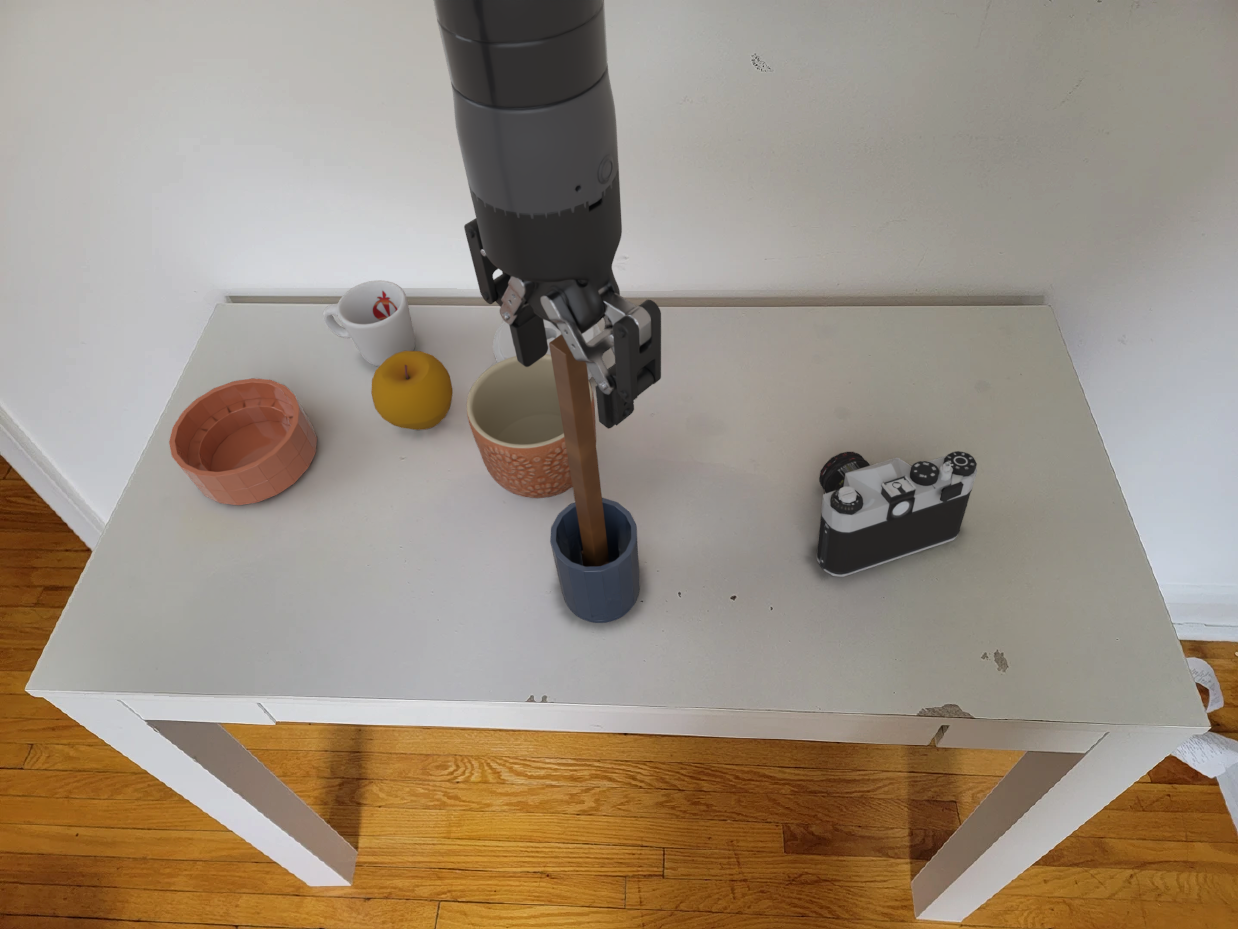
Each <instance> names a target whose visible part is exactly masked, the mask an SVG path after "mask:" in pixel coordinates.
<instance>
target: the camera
mask: <svg viewBox="0 0 1238 929" xmlns="http://www.w3.org/2000/svg"><path fill="white" fill-rule="evenodd" d="M977 465H978V463H977V461H976V459H975V457H974V456H973V455H971V454H970V453H968V452H965V451H960V450H957V451H956V450H955V451H952V452H950V453H948V454H946V455H944V456H941V457H938V458H935V459H930V460H929V461H926V460H920V461H916V462H914V463H913V464H912V465H910V464H909V463H907V461H904V460H903V459H901V458H899V457H897V456H896V457H894V458H890V459H887V460H883V461H881V462H877V463H874V464H870V462H869V461H867V459H865V458H864V456H863V455H861V453H858V452H855V451H844V452H840V453H838V454H836V455H834V456H832V457H830V459H828V461H827V462H825V464H823V466H822V468H821V469H820V472H819V478H818V480H819V484H820V487H821V488H822V489H823V491H824V493H823V494H822V500H821V508H820V509H821V510H820V522H819V531H818V540H817V549H816V560H817V562H818V563H819V567H821V568H822V570H823V571H824V572H826V573H827V574H829V575H831V576H832V577H841V578H843V577H848V576H849V575H852V574H853V575H854V574H855V573H859V572H862V571H865V570H867V569H870V568H874V567H877V566H880V565H883V564H886V563H889V562H892V561H895V560H898V559H901V558H904V557H907V556H910V555H913V554H916V553H919V552H923V551H925V550H929V549H931V548H934V547H937V546H940V545H944V544H946V543H949V542H952V541H955V539H956V538H957V537H958V536H959V535H960V531H961V527H962V523H963V521H964V517H965V513H966V510H967V506H968V503H969V500H970V496H971V493H972V491H973V487H974V483H975V480H976V477H977V474H978V469H977Z"/></svg>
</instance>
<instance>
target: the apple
mask: <svg viewBox="0 0 1238 929" xmlns="http://www.w3.org/2000/svg"><path fill="white" fill-rule="evenodd" d="M377 367H378V366H377ZM372 376H373V377H372V379H371V388H370V390H371V391H370V392H371V398H372V402H373V406H374V409H375V410H376V411H377V413H378V414H379V416H380V417H381V418H382V419H383V420H384V421H386V422H387V423H389V424H391V425H392V426H394V427H397V428H401V429H407V430H414V431H420V430H421V431H422V430H428V429H432V428H434V427H436V426H438V425H439V424H440V423H441V422H442V421H443V420H445V418H446V416H447V415H448V413H449V410H450V409H451V405H452V402H453V393H454V392H453V389H454V388H453V385H452V380H451V376H450V374H449V371H448V369H447V368H446V366H445V365H444V364H443V362H441V361H440V360H439V359H438V358H437V357H435V355H433V354H430V353H427V352H425V351H421V350H414V351H403V352H399V353H395V354H394V355H392V356H391V357H389V358H388V359H386V360H385V361H384V362H383V363H382V364H381V365H380V366H379V367H378V368H376V369H375V371H374V374H373V375H372Z"/></svg>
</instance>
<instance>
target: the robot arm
mask: <svg viewBox="0 0 1238 929" xmlns="http://www.w3.org/2000/svg"><path fill="white" fill-rule="evenodd" d="M432 2H433V6H434V11H435V16H436V22H437V26H438V30H439V35H440V39H441V44H442V48H443V53H444V58H445V62H446V66H447V69H448V75H449V80H450V85H451V89H452V99H453V111H454V112H453V113H454V121H455V122H454V123H455V130H456V135H457V140H458V145H459V150H460V154H461V158H462V162H463V167H464V171H465V175H466V180H467V186H468V189H469V194H470V197H471V202H472V206H473V210H474V215H475V218H474V219H472V220H470V221H469V222H467V223H465V224H464V227H463V228H464V233H465V237H466V240H467V241H466V242H467V244H468V248H469V249H468V250H469V253H470V257H471V262H472V264H473V269H474V273H475V277H476V280H477V286H478V289H479V294H480V296H481V298H482V299H483V300H484V302H486V303H487V304H488V305H493V304H494V303H496V304H497V305H498V306H499V307H500V308H499V310H498V311H499V315H500V317H501V318H502V320H503V322H504V321H505V322H506V323H507V324H509V326H510V331H511V334H512V340H513V344H514V347H515V351H516V356H517V360H518V362H520V363H521V364H522V365H524V366H525V367H529V366H531V365H532V364H534V363H535V362H536V361H538V360H539V359H541V358H542V357H543V356H545V354H546V353H547V351H548V344H547V338H546V332H545V326H544V320H547V321H549V322H551V323H552V324H553V325H554V326H555V327H556V328H557V329H558V330H559V331H560V332H561V334H562V336H563V337H564V339H565V341H566V343H567V345H568V347H569V349H570V351H571V353H572V354H573V356H574V358H575V359H576V360H577V361H579V362H585V363H586V364H587V366H588V368H589V370H590V372H591V374H592V376H593V377H592V379H594V380H593V381H594V382H595V383H596V385H595V386H594V387H595V397H596V406H597V415H598V416H597V417H598V422H599V423H600V424H601V425H602V426H604V427H605V428H606V429H612V428H613V427H614V426H615V427H616V426H618V425H620V424H621V423H622V422H624V421H625V420H626V419H628V418H629V416H631V415H632V414H633V413H634V411H635V400H636V399H638V397H639V396H640V395H641V394H642V393H644V392H645V391H646V390H648V389H649V388H650V387H652V385H655V384H656V383H658V381H660V380H661V378H662V312H661V309H660V307H659V305H658V304H657V303H656V302H655V301H654V300H652V299H646V300H644V301H643V302H642V303H640V304H639V305H637V304H635V303H633V302H632V301H630V300H628V299H627V298H625V297H624V296H622V295H621V291H620V287H619V284H618V282H617V280H616V277H615V275H614V271H613V263H614V259H615V257H616V253H617V251H618V249H619V245H620V242H621V239H622V234H623V225H622V224H623V223H622V206H621V188H620V187H621V183H620V182H621V181H620V166H619V165H620V164H619V149H618V148H619V147H618V132H617V131H618V129H617V128H618V127H617V126H618V125H617V115H616V105H615V101H614V94H613V90H612V85H611V79H610V74H609V73H610V72H609V63H608V46H607V45H608V44H607V42H608V41H607V27H606V26H607V25H606V11H605V0H433V1H432ZM498 270H500V271H501V274H500V275H499V276H497V277H496V278H494V274H495V272H496V271H498ZM543 319H544V320H543ZM602 319H603V321H604V328H603V329H602V330H601V331H600V332H601V333H599V334H598V335H597V336H595V337H594V338H592V339H591V340H590V341H588V342H587V343H586V341H585V339H584V338H583V336H582V334H583V333H584V332H586V331H587V330H589V329H590V328H591V327H593V326H594V325H596V324H598V323H599V322H600V321H602ZM609 350H611V351H612V353H613V356H614V363H613V365H611V366H610V367H607V365H606V364H605V361H604V359H603V356H604V354H605V353H606V352H608V351H609Z"/></svg>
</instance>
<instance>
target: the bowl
mask: <svg viewBox="0 0 1238 929" xmlns="http://www.w3.org/2000/svg"><path fill="white" fill-rule="evenodd" d="M171 428H172V429H171V432H170V437H169V439H168V440H169V441H168V444H169V450H170V455H171V457H172V459H173V460H174V461H175V462H176V464H177V465H178V466H179V468H180V469H181V470H182V471H183V472H184V473H185V475H186V476H187V477H188V478H189V479H190V480H191V481H192V483H193V484H194V485H195V486H196V487H197V488H198V490H199V491H200V492H201V494H202V495H203V496H205V497H206V498H208V499H210V500H212V501H215V502H216V503H219V504H224V505H233V506H242V505H243V506H244V505H249V504H250V505H251V504H255V503H260V502H263V501H264V500H267V499H270V498H272V497H274V496H277V495H279V494H281V493H282V492H284V491H285V490H287V489H288V488H290V487H291V486H292V485H294V484H295V483H296V482H297V481H298V480H299V479H300V478H301V477H302V475H304V473H305V472H306V471H307V470H308V469H309V467H310V465H311V463H312V461H313V459H314V458H315V456H316V453H317V444H318V443H317V442H318V437H317V434H316V431H315V428H314V425H313V424H312V422H311V421H310V418H309V417H308V415H307V413H306V411H305V410H304V408H303V406H302V405H301V403H300V401H299V400H298V398H297V396H296V395H295V393H294V392H293V391H291V390H290V388H288V387H287V385H285V384H282V383H280V382H277V381H274V380H272V379H265V378H257V377H256V378H255V377H251V378H246V379H245V378H244V379H238V380H232V381H229V382H227V383H225V384H222V385H219V386H216V387H213V388H212V389H210V390H208V391H207V392H205V393H204V394H202V395H200V396H198V397H197V398H196V399H195V400H194V401H193V402H191V403H190V404H189V405H188V406H187V407H186V408H184V410H183V411H182V412H181V413H180V415H179V416H178V418H177V419H176V421H175V423H174V424H173V426H172V427H171Z"/></svg>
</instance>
